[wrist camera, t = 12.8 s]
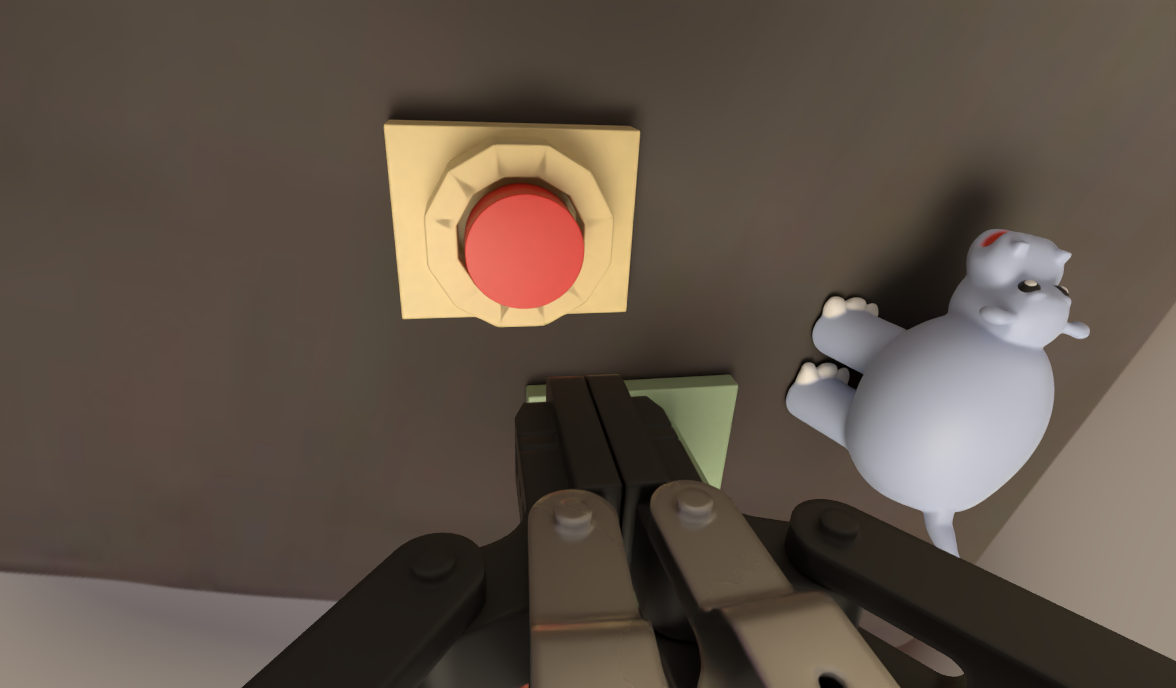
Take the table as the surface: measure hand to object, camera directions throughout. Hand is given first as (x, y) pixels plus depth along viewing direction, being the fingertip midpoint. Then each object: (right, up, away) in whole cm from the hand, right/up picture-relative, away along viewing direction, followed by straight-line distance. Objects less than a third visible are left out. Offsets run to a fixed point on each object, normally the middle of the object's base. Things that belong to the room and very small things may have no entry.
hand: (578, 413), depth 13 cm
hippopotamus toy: (+17, +2, +21) cm, 27 cm away
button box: (-3, +7, +14) cm, 16 cm away
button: (-2, +6, +11) cm, 13 cm away
